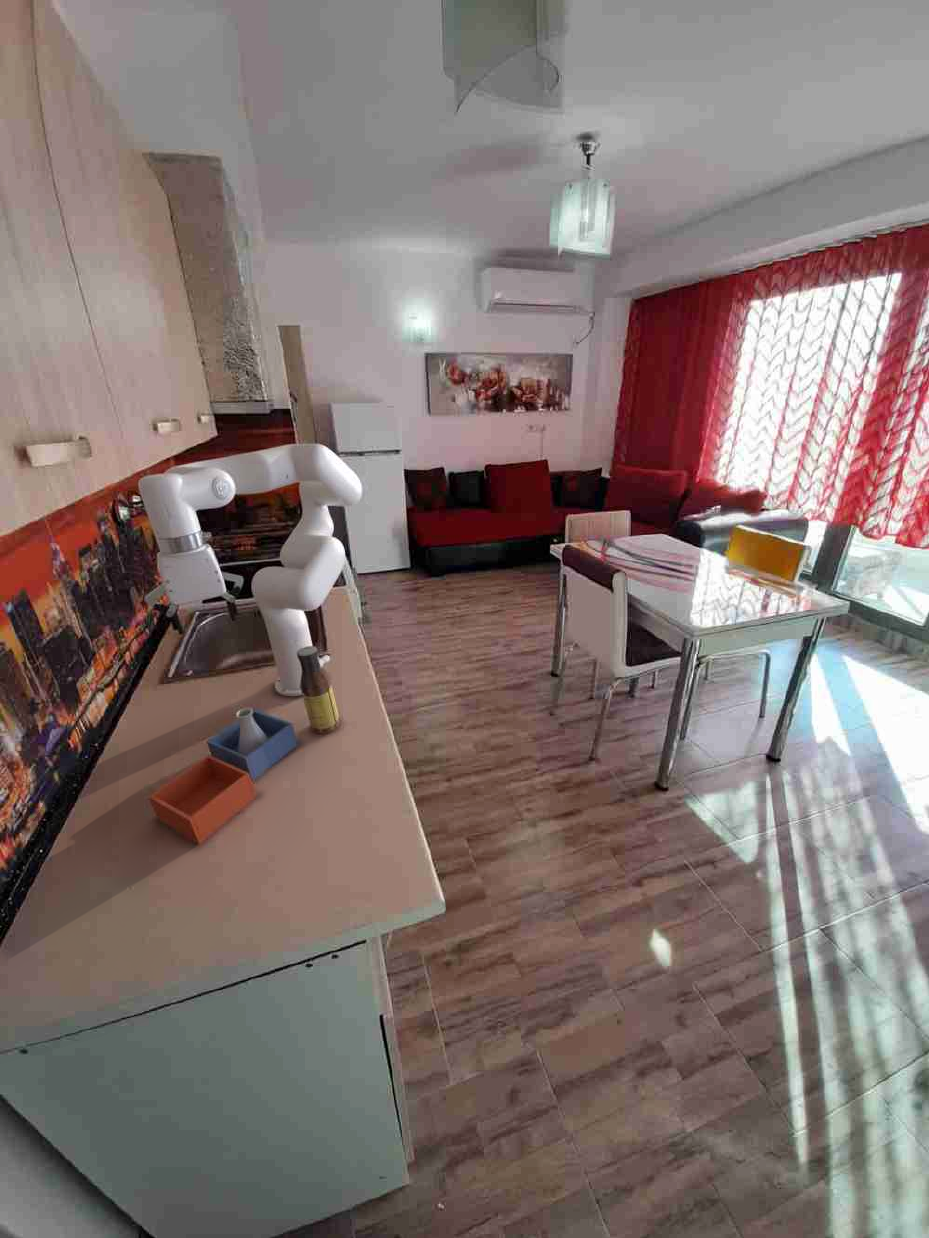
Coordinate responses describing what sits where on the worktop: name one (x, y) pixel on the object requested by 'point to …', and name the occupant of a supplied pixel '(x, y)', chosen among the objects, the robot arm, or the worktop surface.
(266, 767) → the blue bin
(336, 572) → the robot arm
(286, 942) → the worktop surface
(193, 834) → the terracotta bin
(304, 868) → the worktop surface
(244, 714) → the flask
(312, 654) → the sauce bottle
